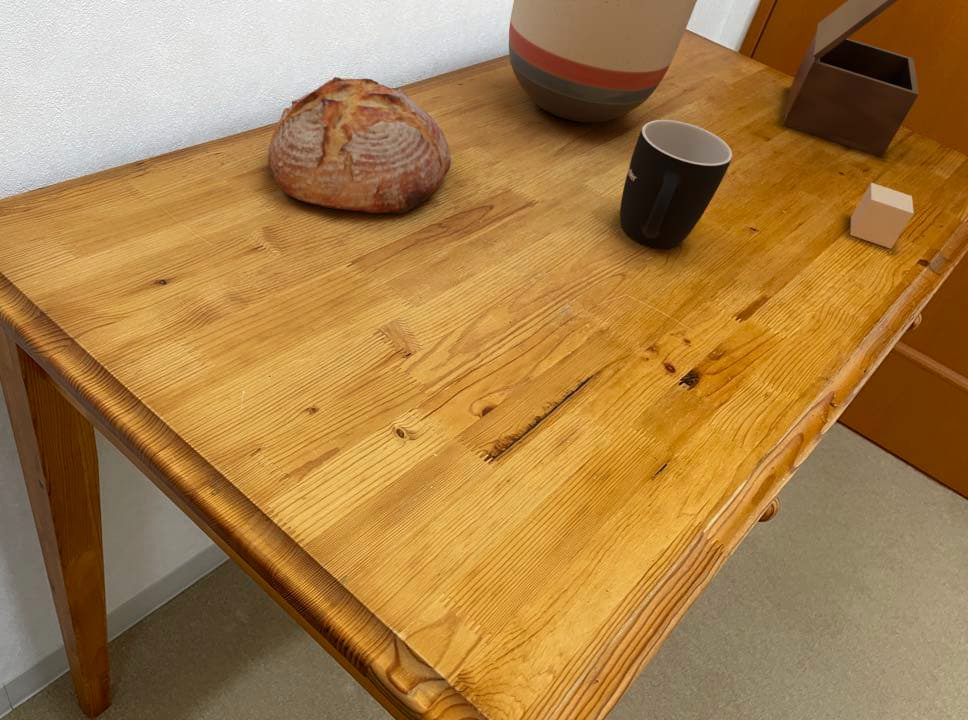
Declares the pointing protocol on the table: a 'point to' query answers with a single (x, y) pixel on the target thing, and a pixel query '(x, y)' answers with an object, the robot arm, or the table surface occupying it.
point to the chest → (852, 95)
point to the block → (881, 215)
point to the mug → (671, 181)
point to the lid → (846, 22)
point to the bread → (358, 148)
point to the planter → (594, 52)
